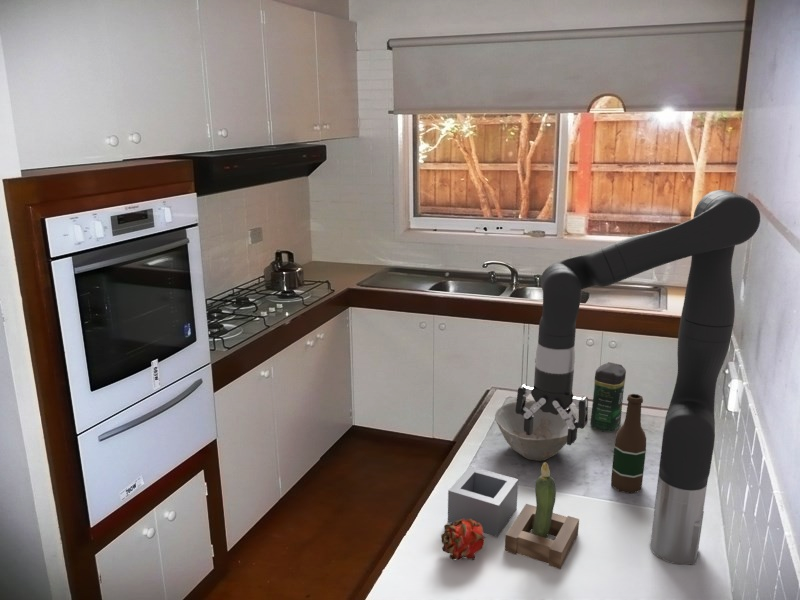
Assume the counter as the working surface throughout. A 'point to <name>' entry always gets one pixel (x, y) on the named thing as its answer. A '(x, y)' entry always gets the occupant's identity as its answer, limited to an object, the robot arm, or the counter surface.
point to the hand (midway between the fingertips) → (549, 438)
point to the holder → (483, 499)
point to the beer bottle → (629, 449)
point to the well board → (542, 538)
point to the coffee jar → (608, 397)
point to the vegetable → (544, 502)
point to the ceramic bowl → (542, 440)
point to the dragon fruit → (463, 539)
